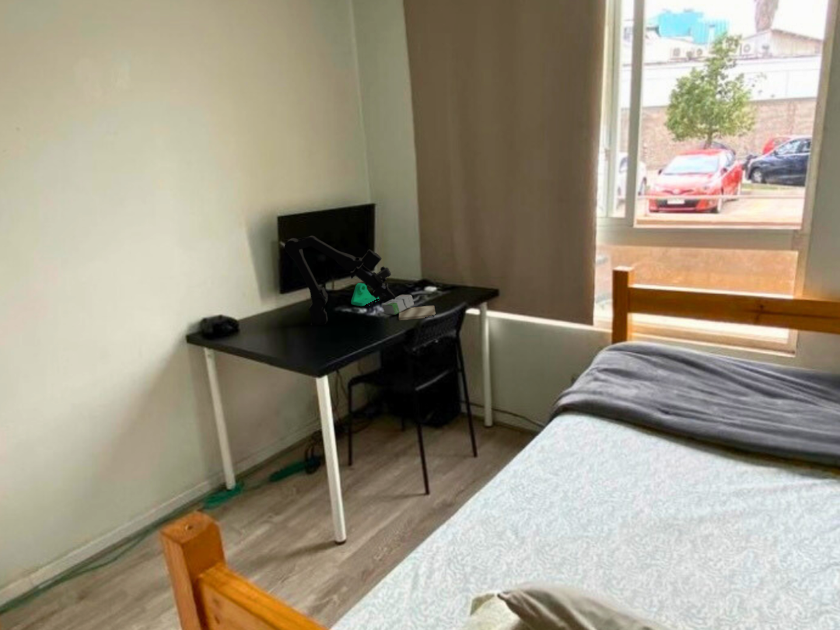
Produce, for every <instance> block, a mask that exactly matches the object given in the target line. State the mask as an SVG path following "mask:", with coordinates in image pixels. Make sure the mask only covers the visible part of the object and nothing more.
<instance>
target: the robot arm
mask: <svg viewBox="0 0 840 630" xmlns="http://www.w3.org/2000/svg"><path fill="white" fill-rule="evenodd" d="M283 247H284V250H285V252H286V254H288V256H289V257H290V258H291V259H292V261H294V263H295V264H296V266H297V268H298V270H299V272H300V275H301V276H302V279H303V280H304V282H305V284H306V286H307V288H308V290H309V294H310V299H311V304H310V306H309V307H308V310H309V311H308V312H309V317H310V320H311V322H310V326H311V327H312V326H321V325H323V326H324V325H326V324H327V323H328V319H329V318H328V314H327V311H326V308H325V306H326V304H327V302H328V299H329V298H328V296H329V294H328V293H327V291H326V289H325V287H324V286H323V287H322V288H321V287H320V286H319V284H318V282H317V281H316V278H315V276H314V274H313V272H312V270H311V268H310V266H309V264H308V262H307V260H306V258H305V256H304V251H303V249H305V248H309V247H312V248H313V249H315V250H317V251H318V252H320V253H322V254H324V255H325V256H326V257H327V256H328V257H329V258H331V259H333V260H334V261H335V262H337V264H338V265H339V266H340V267H341V268H343V269H344V270H346V271H349V274H350V279H354V277H357V279H359V280H361V282H362V283H363V284H365V285H366V286H367V287H368V288H370V289H371V291H373V292H372V296H374V297H375V298H376V299H377V298H378V297H379V298H380V297H383V298H385V299H386V298H387V299H390V300H392V299H395V298H396V297H397V296H396V295H395V294H394V293H393V292H392V291H391V289H390V288H389V285H388V282H386V281H387V280H388V278H389V277H391V276H392V272H391V271H390V269H389V267H386V266H382V267H381V266H380V269H379V271H378V272H376V271H373V272H372V271H371V270H372V269H373V270H374V269H375V268H376V267H377V266H378V264H379V263H380V261H381V260H382V257H381V256H380V255H379V254H378V253H377V252H375V251H373V250H372V249H368V250H367V252H366V253H365V254H364V255H363V257H359V256H358V257H356V256H355V255H352V254H349V253H346V252H343V251H339V250H338V249H336V248H334V247H333V246H331V245H330V244H327V243H326V242H324V241H323V240H320V239H319V238H317V237H316V236H314V235H310V236H307V237H302V238H296V237H295V238H290V239H288V240H287V241H286V242H285V243H284V246H283Z"/></svg>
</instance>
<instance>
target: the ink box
mask: <svg viewBox="0 0 840 630" xmlns="http://www.w3.org/2000/svg"><path fill="white" fill-rule="evenodd" d="M395 297H396V298H395V299H390V300H388V301H386V302H384V303H382V304H381V306H382V310H383V312H384V314H385V315H397V314H399V312H401V311H403V310H405V309H407V308H412V307H413V306H414V305H415V303H414V299H413V296H412V295H411V294H400V295H398V296H395Z"/></svg>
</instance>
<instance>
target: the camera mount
mask: <svg viewBox="0 0 840 630" xmlns="http://www.w3.org/2000/svg"><path fill="white" fill-rule="evenodd" d="M377 299H379V300H380V296H379V297H378V298H377ZM374 300H376V298H375V297H374V296H373V294H371V293H370V291H369V290H368V285H367V286H366V285H365V283H364V282H358V283H357V284H356V285H355V288H354V291H353V294H352V297H351V301H350V303H351V305H354V306H357V307H359V306H360V307H364V306H365V305H366V304H368V303H370V302H372V301H374Z"/></svg>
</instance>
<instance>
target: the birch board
mask: <svg viewBox="0 0 840 630" xmlns="http://www.w3.org/2000/svg"><path fill="white" fill-rule="evenodd" d="M435 314H436V309H435V305H425V306H415V307H413V306H412V307H409V308H407V309H405V310H403V311H401V312H399V313H398V320H399V321H407V320H416V319H425V317H428V316H432V315H435Z"/></svg>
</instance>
